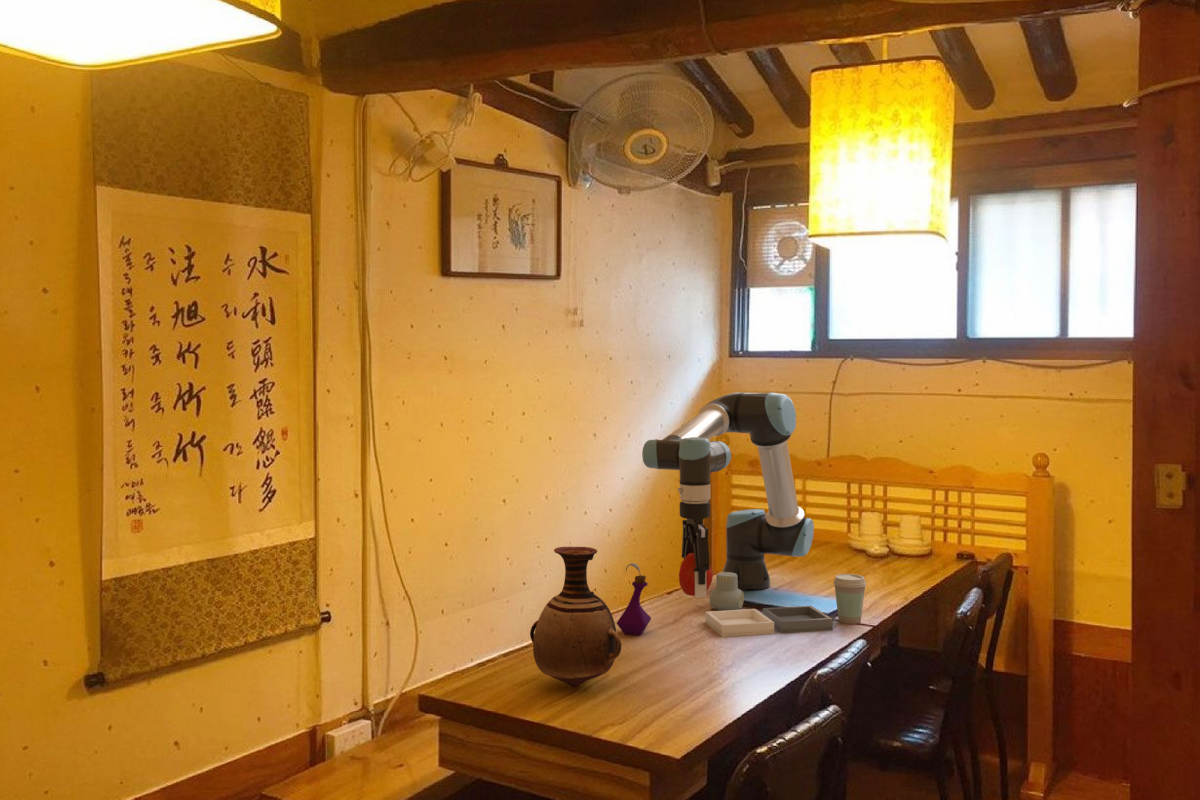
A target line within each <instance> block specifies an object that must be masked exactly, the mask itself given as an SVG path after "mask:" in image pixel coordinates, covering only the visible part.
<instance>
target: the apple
mask: <svg viewBox="0 0 1200 800" xmlns="http://www.w3.org/2000/svg"><path fill="white" fill-rule="evenodd" d="M709 566H710V569H709V570H707V571H706V592H708V590H709V589H710V586H711V585H712V582H713V577H714V574H713V569H712V566H711V564H710V563H709ZM694 569H696V563H695V555H694V553H689V554H688V555H687V556H686V557H685V559H684V558H683V559H682V562H681V564H680V566H679V572H678V579H679V580H678V581H679V585H680V589H681V591H682V592H683V593H684V594H685V595H687V596H690V597H691V596H692V597H695V572H694V571H693V570H694Z"/></svg>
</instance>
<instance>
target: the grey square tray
mask: <svg viewBox="0 0 1200 800" xmlns="http://www.w3.org/2000/svg"><path fill="white" fill-rule="evenodd" d="M761 613H762V614H763V615H765V616H766V617H768V618H769V619H770V620H772V621H773V622H774V630H775V629H776V631H778V632H780V634H785V633H786V634H787V633H789V634H790V633H802V632H803V633H804V632H820V631H833V627H834V626H833V625H834V623H833V622H834V620H833V618H832V617H830V616H829V615H828V614H826V613H824V612H822V611H821V610H819V609H817V608H815V607H814V606H813V605H798V606H783V607H782V606H781V607H779V606H778V607H766V608H764V607H763V608H762V612H761Z"/></svg>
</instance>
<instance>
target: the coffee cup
mask: <svg viewBox="0 0 1200 800" xmlns="http://www.w3.org/2000/svg"><path fill="white" fill-rule="evenodd" d="M833 585H834V590H835V592H834V593H835V599H836V600H835V601H836V609H837V611H836V612H837V619H838V622H839V623H842V624H846V625H847V624H848V625H857V624H860V623H861V622H862V615H863V607H864V598H865V590H866V587H867V582H866V579H865V577H864V576H863V575H861V574H855V573H840V574H837V575H835V578H834V580H833Z"/></svg>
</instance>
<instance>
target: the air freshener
mask: <svg viewBox="0 0 1200 800" xmlns="http://www.w3.org/2000/svg"><path fill="white" fill-rule="evenodd" d="M715 581H716V587H715V588H713V589H712V590H711V592H710V594H709V595H710V596H709V605H710V607H711V608H713V609H715V611H725V610H742V607H743V605H744V602H745V601H744V600H745V594H744V590H740V589H738V580H737V574H736V573H732V572H723V571H721V572H717V574H716V579H715Z"/></svg>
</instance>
